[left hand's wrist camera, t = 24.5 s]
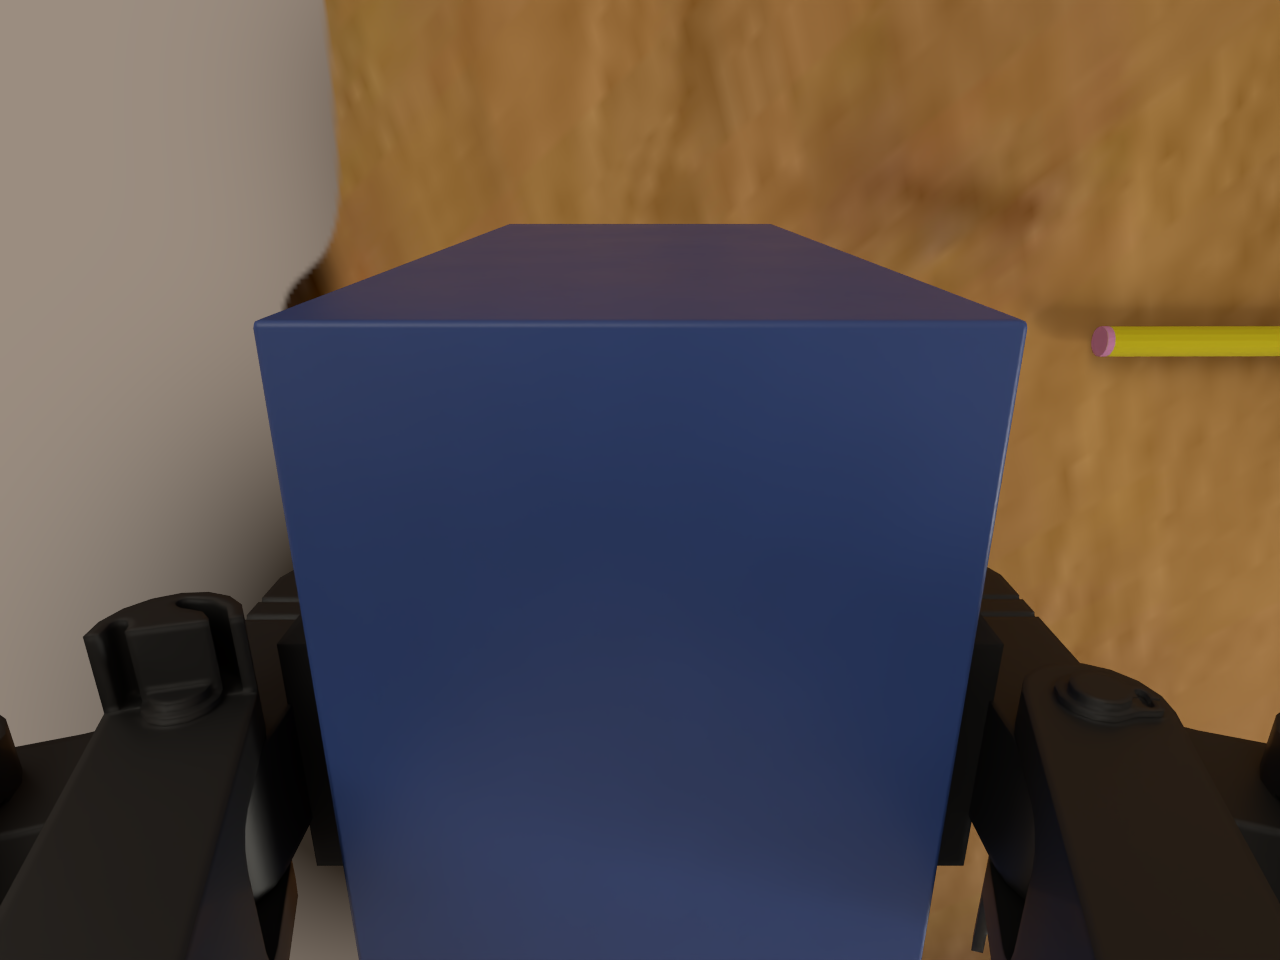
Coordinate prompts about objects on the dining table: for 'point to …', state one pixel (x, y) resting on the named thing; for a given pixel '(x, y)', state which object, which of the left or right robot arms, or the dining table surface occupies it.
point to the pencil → (1186, 341)
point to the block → (640, 587)
